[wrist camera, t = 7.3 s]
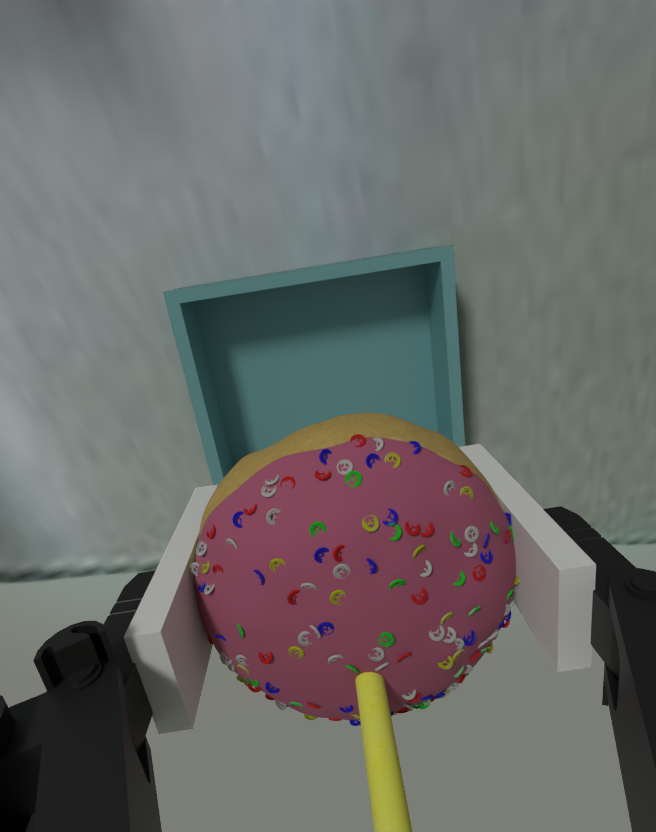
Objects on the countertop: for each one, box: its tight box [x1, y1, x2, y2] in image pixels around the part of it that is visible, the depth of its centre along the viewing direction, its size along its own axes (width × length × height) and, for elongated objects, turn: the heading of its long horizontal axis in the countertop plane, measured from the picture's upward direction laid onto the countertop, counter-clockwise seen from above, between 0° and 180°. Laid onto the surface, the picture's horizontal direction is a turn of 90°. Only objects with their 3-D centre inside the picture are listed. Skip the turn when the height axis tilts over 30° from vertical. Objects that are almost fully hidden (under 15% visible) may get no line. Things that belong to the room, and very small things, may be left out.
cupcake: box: [190, 413, 520, 832], centre depth 11 cm, size 9×8×12 cm
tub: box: [163, 245, 465, 485], centre depth 32 cm, size 18×15×4 cm
